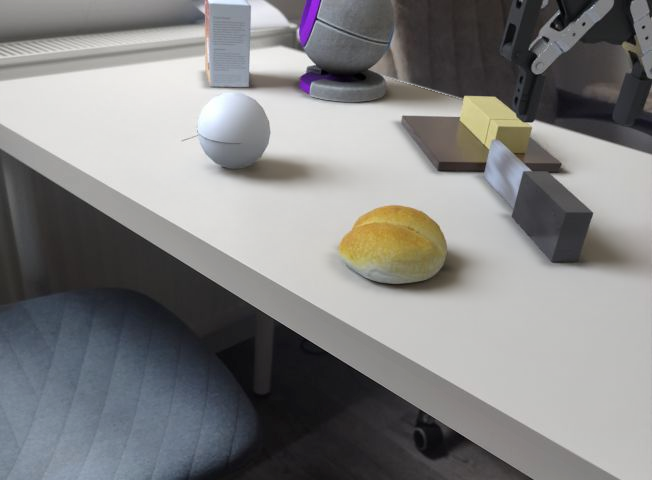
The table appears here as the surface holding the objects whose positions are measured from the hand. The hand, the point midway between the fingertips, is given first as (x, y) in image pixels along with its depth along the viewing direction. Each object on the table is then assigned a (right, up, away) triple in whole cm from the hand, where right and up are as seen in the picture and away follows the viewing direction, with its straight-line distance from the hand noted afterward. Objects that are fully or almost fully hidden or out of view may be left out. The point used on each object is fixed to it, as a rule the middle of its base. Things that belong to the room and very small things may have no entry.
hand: (573, 121), depth 57 cm
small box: (-33, +20, +42) cm, 57 cm away
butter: (0, +7, +27) cm, 28 cm away
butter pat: (+1, +4, +22) cm, 22 cm away
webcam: (-17, +18, +42) cm, 49 cm away
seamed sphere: (-30, 0, +15) cm, 34 cm away
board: (-2, +5, +25) cm, 26 cm away
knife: (-1, -6, +10) cm, 11 cm away
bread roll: (-15, -11, +1) cm, 19 cm away
